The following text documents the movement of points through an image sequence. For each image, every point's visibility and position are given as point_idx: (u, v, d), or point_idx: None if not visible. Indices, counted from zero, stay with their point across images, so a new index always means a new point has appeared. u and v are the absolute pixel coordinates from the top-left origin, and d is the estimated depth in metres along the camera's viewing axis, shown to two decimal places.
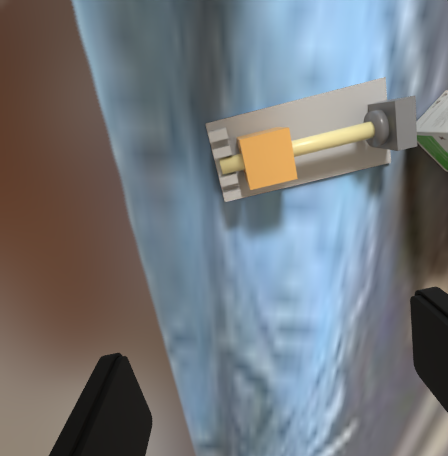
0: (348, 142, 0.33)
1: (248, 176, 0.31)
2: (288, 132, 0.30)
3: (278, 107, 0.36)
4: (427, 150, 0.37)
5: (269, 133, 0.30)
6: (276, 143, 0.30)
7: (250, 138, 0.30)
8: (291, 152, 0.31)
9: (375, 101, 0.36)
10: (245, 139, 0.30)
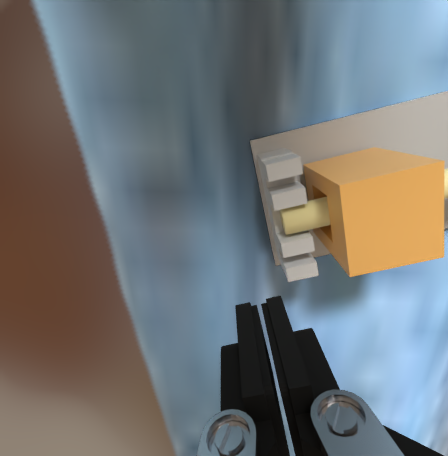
0: None
1: (349, 253, 0.16)
2: (441, 170, 0.15)
3: (379, 113, 0.21)
4: None
5: (402, 172, 0.15)
6: (413, 192, 0.15)
7: (362, 182, 0.15)
8: (441, 208, 0.15)
9: None
10: (351, 184, 0.15)
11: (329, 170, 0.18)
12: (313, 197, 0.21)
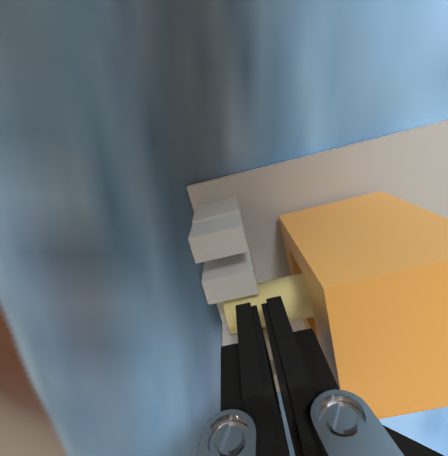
0: None
1: None
2: None
3: (370, 147, 0.14)
4: None
5: (436, 266, 0.08)
6: None
7: (364, 283, 0.08)
8: None
9: None
10: (345, 286, 0.08)
11: (312, 238, 0.11)
12: (292, 266, 0.14)
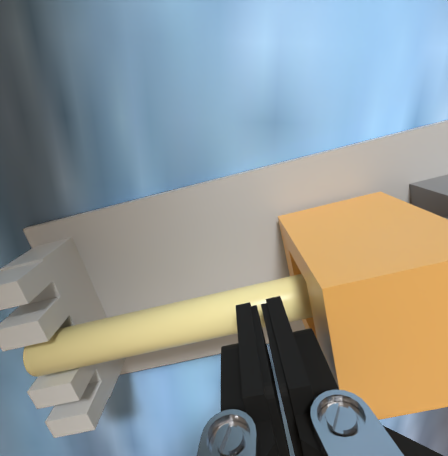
0: None
1: None
2: None
3: (192, 192, 0.15)
4: None
5: (434, 266, 0.08)
6: None
7: (362, 283, 0.08)
8: None
9: (427, 175, 0.15)
10: (343, 286, 0.08)
11: (311, 238, 0.11)
12: (292, 266, 0.14)
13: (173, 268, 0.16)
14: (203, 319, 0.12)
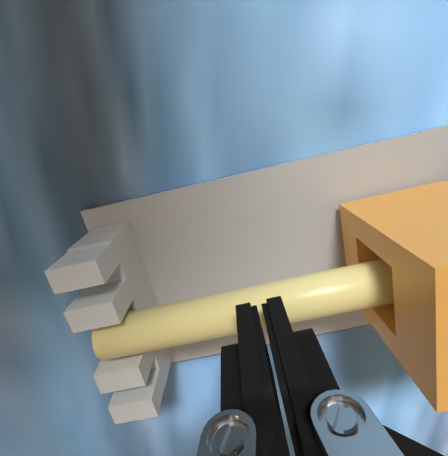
0: None
1: (439, 376, 0.09)
2: None
3: (256, 177, 0.15)
4: None
5: None
6: None
7: None
8: None
9: None
10: None
11: (392, 223, 0.11)
12: (356, 254, 0.14)
13: (230, 255, 0.16)
14: None
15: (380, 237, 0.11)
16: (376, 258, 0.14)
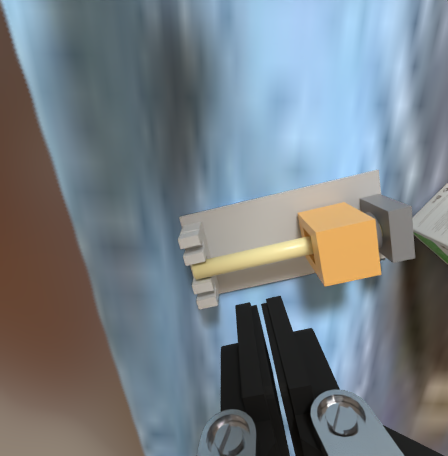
0: None
1: (323, 271, 0.27)
2: (374, 224, 0.26)
3: (259, 201, 0.33)
4: (427, 246, 0.33)
5: (351, 225, 0.26)
6: (359, 236, 0.26)
7: (328, 231, 0.26)
8: (376, 245, 0.26)
9: (367, 194, 0.32)
10: (322, 232, 0.26)
11: (312, 220, 0.29)
12: (304, 235, 0.32)
13: (247, 237, 0.34)
14: (269, 253, 0.30)
15: (307, 225, 0.29)
16: None
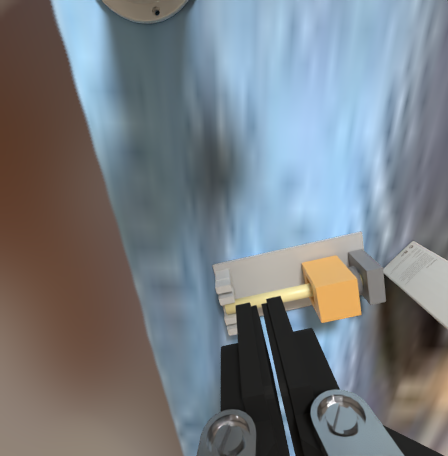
0: None
1: (320, 313, 0.38)
2: (356, 282, 0.37)
3: (273, 254, 0.43)
4: None
5: (340, 282, 0.37)
6: (345, 290, 0.37)
7: (324, 286, 0.37)
8: (358, 296, 0.37)
9: (353, 249, 0.43)
10: (320, 287, 0.37)
11: (313, 273, 0.40)
12: (306, 280, 0.43)
13: (263, 279, 0.45)
14: (281, 296, 0.41)
15: (309, 277, 0.40)
16: None
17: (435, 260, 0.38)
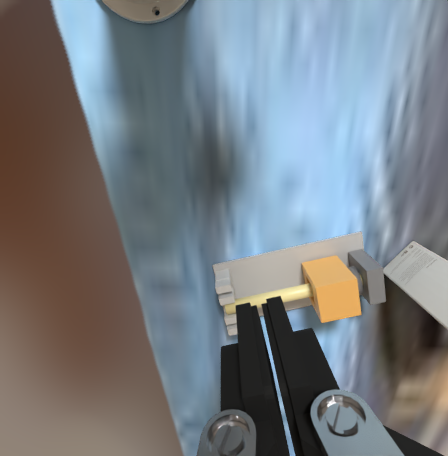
0: None
1: (320, 313, 0.38)
2: (356, 282, 0.37)
3: (273, 254, 0.43)
4: None
5: (340, 282, 0.37)
6: (345, 290, 0.37)
7: (324, 286, 0.37)
8: (358, 296, 0.37)
9: (353, 249, 0.43)
10: (320, 287, 0.37)
11: (313, 273, 0.40)
12: (306, 280, 0.43)
13: (263, 279, 0.45)
14: (281, 296, 0.41)
15: (309, 277, 0.40)
16: None
17: (435, 260, 0.38)
